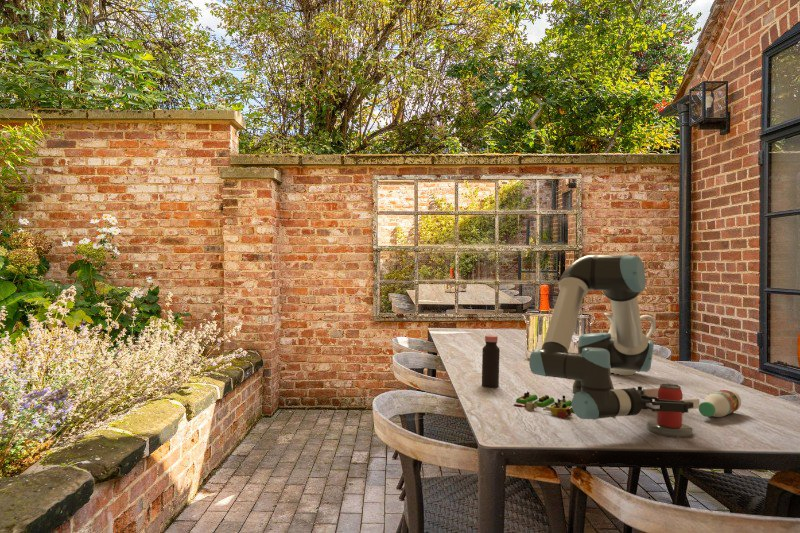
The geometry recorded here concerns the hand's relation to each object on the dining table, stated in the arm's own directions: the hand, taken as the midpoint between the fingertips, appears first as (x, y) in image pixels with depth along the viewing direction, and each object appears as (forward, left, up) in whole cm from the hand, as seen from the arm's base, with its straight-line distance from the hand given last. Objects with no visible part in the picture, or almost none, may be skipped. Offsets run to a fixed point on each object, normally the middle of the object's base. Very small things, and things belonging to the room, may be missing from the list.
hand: (678, 397), depth 160 cm
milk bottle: (+20, +32, -6) cm, 39 cm away
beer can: (-3, -2, -8) cm, 9 cm away
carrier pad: (-3, -2, -10) cm, 10 cm away
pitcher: (-7, +91, -10) cm, 92 cm away
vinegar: (-62, +36, -10) cm, 73 cm away
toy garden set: (-38, +11, -11) cm, 41 cm away
